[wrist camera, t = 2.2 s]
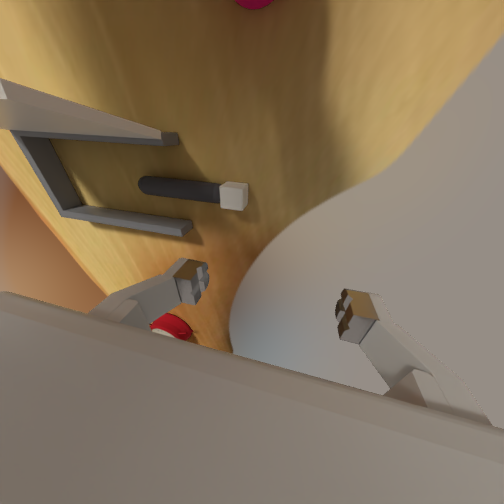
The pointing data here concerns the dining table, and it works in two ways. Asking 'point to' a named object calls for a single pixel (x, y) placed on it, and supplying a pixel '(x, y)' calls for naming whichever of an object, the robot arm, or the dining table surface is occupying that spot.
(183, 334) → the alarm clock
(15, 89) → the cover
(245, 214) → the dining table surface
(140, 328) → the robot arm
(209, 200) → the white-capped dark rod
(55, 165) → the grey flat frame
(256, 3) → the pepper mill
